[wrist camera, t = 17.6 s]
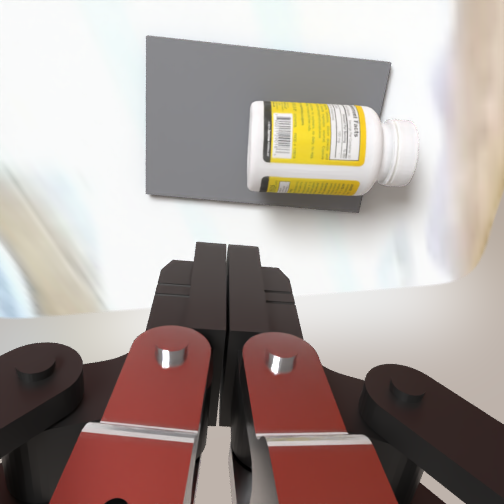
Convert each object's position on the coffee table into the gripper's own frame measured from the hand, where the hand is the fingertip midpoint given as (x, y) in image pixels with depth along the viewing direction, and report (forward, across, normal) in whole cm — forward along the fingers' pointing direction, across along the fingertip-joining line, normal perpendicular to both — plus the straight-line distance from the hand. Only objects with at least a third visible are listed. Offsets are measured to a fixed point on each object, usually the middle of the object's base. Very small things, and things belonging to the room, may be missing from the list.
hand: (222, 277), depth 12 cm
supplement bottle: (+18, -1, +1) cm, 19 cm away
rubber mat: (+22, -2, +1) cm, 22 cm away
